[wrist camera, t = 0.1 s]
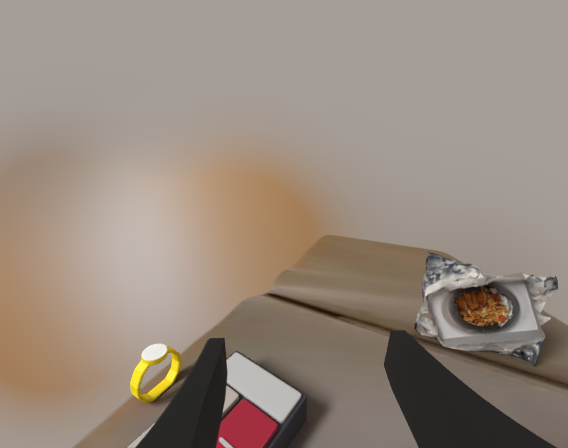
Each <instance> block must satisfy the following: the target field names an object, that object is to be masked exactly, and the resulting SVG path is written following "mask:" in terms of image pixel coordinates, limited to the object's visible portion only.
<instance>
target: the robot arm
mask: <svg viewBox="0 0 568 448" xmlns="http://www.w3.org/2000/svg"><path fill="white" fill-rule="evenodd" d="M384 367H385V370H386V373H387V376H388V379H389V382H390V385H391V388H392V391H393V393H394V395H395V397H396V399H397V402H398V404H399V406H400V408H401V410H402V412H403V415H404V417H405V419H406V421H407V423H408V425H409V427H410V430H411V432H412V434H413V436H414V438H415V440H416V442H417V444H418V447H419V448H556V447H555V446H553V445H551V444H550V443H548V442H547V441H545V440H543V439H542V438H540V437H539V436H537V435H535V434H534V433H532V432H531V431H529V430H528V429H526V428H525V427H523V426H522V425H520V424H518V423H517V422H516V421H514V420H513V419H511V418H510V417H508V416H507V415H505V414H504V413H503V412H501V411H500V410H498V409H497V408H496V407H494V406H493V405H491V404H490V403H489V402H487V401H486V400H485V399H483V398H482V397H481V396H479V395H478V394H477V393H476V392H474V391H473V390H472V389H471V388H469V387H468V386H467V385H466V384H464V383H463V382H462V381H461V380H459V379H458V378H457V377H456V376H455V375H454V374H452V373H451V372H450V371H449V370H448V369H447V368H445V367H444V366H443V365H442V364H441V363H440V362H439V361H437V360H436V359H435V358H434V357H433V356H432V355H431V354H430V353H429V352H428V351H426V350H425V349H424V348H423V347H422V346H421V345H420V344H419V343H418V342H417V341H416V340H415V339H413V338H412V337H411V336H410V335H409V334H408V333H407V332H406V331H405V330H402V331H391V333H390V338H389V343H388V347H387V352H386V357H385V362H384ZM227 374H228V371H227V361H226V350H225V340H224V338H210V339H209V340H207V342H206V344H205V346H204V348H203V350H202V352H201V354H200V356H199V358H198V360H197V361H196V363H195V365H194V367H193V368H192V370H191V372H190V373H189V375H188V376H187V378H186V380H185V381H184V383H183V384H182V386H181V388H180V389H179V391H178V392H177V393H176V395H175V396H174V398H173V399H172V401H171V402H170V404H169V405H168V407H167V408H166V409H165V411H164V412H163V413H162V415H161V416H160V417H159V419H158V420H157V421H156V423H155V424H154V425H153V426H152V428H151V429H150V430H149V432H148V433H147V434H146V435H145V436H144V438H143V439H142V440H141V441H140V442H139V444H138V445H137V446H136V447H135V448H216V445H217V440H218V434H219V429H220V424H221V419H222V414H223V408H224V403H225V396H226V386H227Z"/></svg>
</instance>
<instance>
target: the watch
mask: <svg viewBox="0 0 568 448" xmlns="http://www.w3.org/2000/svg"><path fill="white" fill-rule="evenodd" d="M168 353H171V355H172V364H171V369H170V370H169V372H168V374H167V376H166V378H165V379H164V380H163V381H162V382H160V383H159V384H158V385H157V386H156V387H155V388H154V389H152V390H151V391H150V392H149V393H148V394H141V392H140V384H141V381H142V378H143V375H144V374H145V372H146V371H147V369H148V368H149V366H150V365H155V364H158V363H160V362H162V361H163V360H164V359H165V358H166V357H167V354H168ZM141 358H142V360H141V361H140V363H139V364H138V365H137V367H136V368H135V370H134V373H133V376H132V379H131V383H130V386H131V393H132V394H133V395H134V396H135V397H137V398H138V399H139V400H141V401H142V402H143V403H148V402H153V401H154V400H155V399H157V398H158V397H159V396H160V395H161V394H162V393H163V392H164V391H165V390H166V389H168V388H169V387H170V386H171V385H173V383H174V382H175V380H176V378H177V376H178V374H179V371H180V366H181V357H180V354H179V352H177V351H176V350H174V349H172V348H170V347H169V346H165V345H163V344H154V345H151V346H149V347H147V348H146V349H145V350H144V351H143V352H142V355H141Z"/></svg>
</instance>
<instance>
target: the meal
mask: <svg viewBox="0 0 568 448" xmlns="http://www.w3.org/2000/svg"><path fill="white" fill-rule="evenodd" d="M426 265H427V267H426V271H425V275H424V279H423V286H422V293H423V301H424V304H423V305H422V307H421V309H420V310H419V311H418V314H417V320H416V323H415V330H417V331H418V332H419V333H420V334H421V335H426V336H430V337H434V338H437V339H438V340H439V341H440V343H441V344H442V345H443V346H444V347H448V348H453V349H459V350H467V351H497V352H499V354H512V355H515V356H517V357H519V358H521V359H523V360H525V361H527V360H526V359H525V357H524V356H523V355H522V354H521V352H524V353H525V354H526V356H527V358H528V361H529V362H530V364H531V365H535V363H536V360H537V357H538V354H539V351H540V348H541V345H542V343H543V341H544V339H545V334H544V332H543V331H542V328H541V325H543V324H544V323H545V322H547V321H548V320H550V319H551V317H548V316H546V315H543V314H541V311H542V309H543V307H544V305H545V303H546V301H547V299H548V298H549V297H550V296H551V295H552V294H553V293H554V292H555V291H556V290H557V289H558V282H557V277H556V276H555V277H535V276H533V275H531V276H528V275H526V274H524V273H519V274H513V275H507V276H498V275H483V274H482V272H481V270H480V268H478V267H476V266H474V265H472V264H467V263H461V262H457V261H456V260H454V259H449V258H446V257H443V256H440V255H438V254H434V253H429V252H428V253H427V256H426ZM426 299H427V301H428V305H427V302H426ZM421 313H430V316H431V318H432V319H428V318H426V317H424V316H423V315H422V314H421Z"/></svg>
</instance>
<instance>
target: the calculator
mask: <svg viewBox="0 0 568 448" xmlns="http://www.w3.org/2000/svg"><path fill="white" fill-rule="evenodd" d="M226 361H227V371H228V374H227V386H226V396H225V403H224V408H223V414H222V419H221V424H220V429H219V434H218V440H217V445H216V448H286V447H287V446H288V445H289V443H290V442H291V440H292V439H293V437H294V436H295V434H296V433H297V431H298V430H299V428H300V427H301V425H302V424H303V423H304V421H305V419H306V404H307V397H306V395H305V394H304V393H303V392H301V391H300V390H298V389H297V388H295V387H293V386H292V385H290V384H289V383H287V382H286V381H284V380H282V379H281V378H279V377H278V376H276V375H275V374H273V373H271V372H270V371H268V370H267V369H265V368H264V367H262V366H260V365H259V364H257V363H256V362H254V361H253V360H251V359H249V358H248V357H246V356H245V355H243V354H242V353H240V352H238V351H236V352H234V353H233V354H232V355H230V356H229V357H228V358H227V359H226ZM155 423H156V422H155ZM155 423H154V424H155ZM154 424H153V425H154ZM153 425H152V426H153ZM152 426H150V427H149V428H148V429H147V430H146V431H145V432H144V433H142V434H141V435H140V436H139V437H138V438H137V439H136V440H135V441H133V442H132V443H131V444H130V445H129V446H128V447H127V448H135V447H136V446H137V445H138V444H139V442H140V441H141V440H142V439H143V438H144V436H145V435H146V434H147V433H148V432H149V430H150V429H151V428H152Z"/></svg>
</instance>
